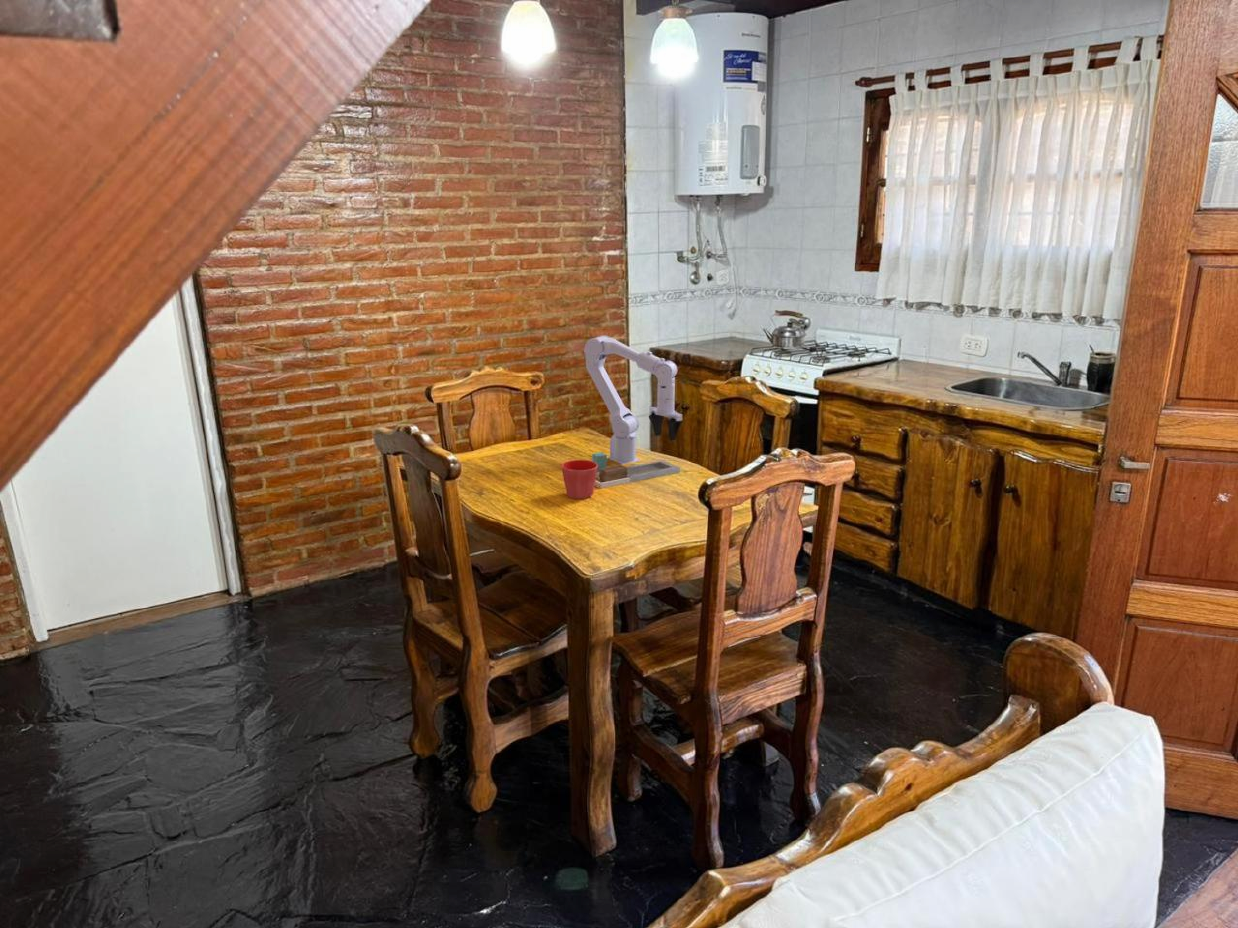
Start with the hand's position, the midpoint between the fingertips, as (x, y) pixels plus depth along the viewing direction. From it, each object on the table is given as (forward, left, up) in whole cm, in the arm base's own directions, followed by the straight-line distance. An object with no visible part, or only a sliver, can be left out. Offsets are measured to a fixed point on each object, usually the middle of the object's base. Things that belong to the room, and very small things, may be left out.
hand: (665, 437), depth 280 cm
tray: (+5, -27, -10) cm, 29 cm away
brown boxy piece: (+5, -26, -10) cm, 28 cm away
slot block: (+5, -11, -10) cm, 16 cm away
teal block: (-5, -23, -10) cm, 25 cm away
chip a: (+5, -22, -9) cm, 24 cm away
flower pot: (+11, -40, -10) cm, 43 cm away
